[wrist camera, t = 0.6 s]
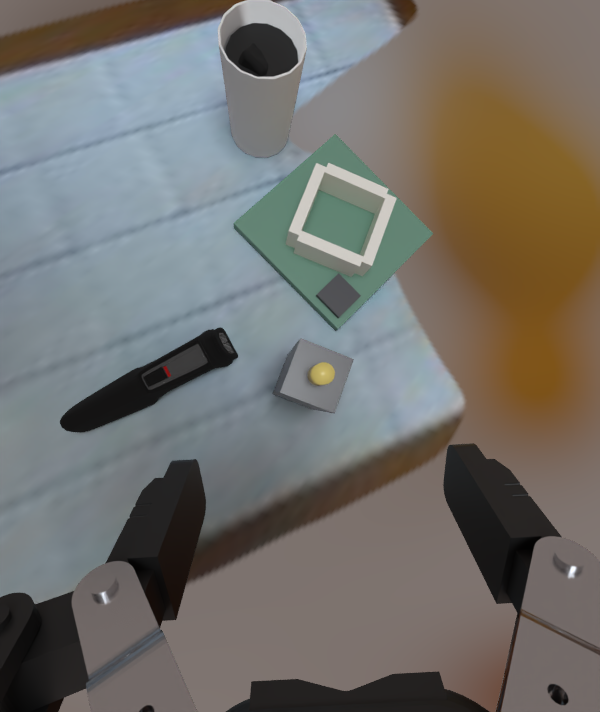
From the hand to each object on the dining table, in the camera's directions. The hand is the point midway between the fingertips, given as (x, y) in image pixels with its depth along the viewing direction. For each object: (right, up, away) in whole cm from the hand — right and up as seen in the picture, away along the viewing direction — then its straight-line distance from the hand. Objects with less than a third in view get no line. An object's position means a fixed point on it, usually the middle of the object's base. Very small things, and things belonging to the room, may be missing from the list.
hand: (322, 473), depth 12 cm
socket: (+3, +16, +25) cm, 30 cm away
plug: (-1, +1, +24) cm, 24 cm away
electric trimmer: (-13, +1, +23) cm, 27 cm away
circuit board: (+3, +16, +26) cm, 31 cm away
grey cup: (-5, +26, +26) cm, 38 cm away
